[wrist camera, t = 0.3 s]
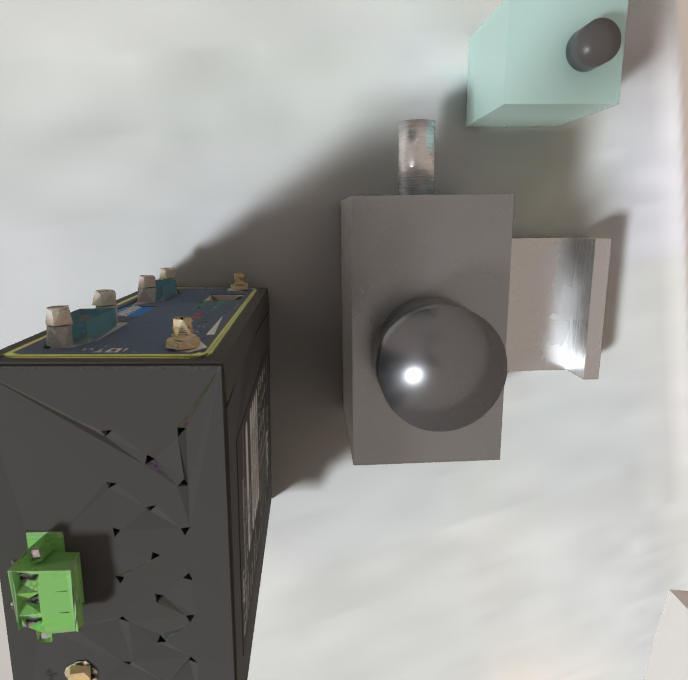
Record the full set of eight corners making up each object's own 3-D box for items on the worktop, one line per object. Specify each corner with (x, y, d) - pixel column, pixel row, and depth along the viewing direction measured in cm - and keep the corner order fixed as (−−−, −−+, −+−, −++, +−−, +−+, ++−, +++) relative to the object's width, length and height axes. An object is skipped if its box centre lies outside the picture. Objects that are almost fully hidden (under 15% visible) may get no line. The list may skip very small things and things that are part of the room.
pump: (468, 39, 33) (521, -20, 25) (564, 40, 33) (647, -18, 25) (465, 126, 34) (515, 97, 26) (558, 126, 35) (636, 97, 26)
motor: (339, 135, 34) (355, 91, 22) (596, 134, 35) (741, 91, 23) (343, 407, 38) (358, 492, 26) (573, 400, 39) (687, 479, 27)
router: (268, 265, 35) (218, 324, 16) (272, 516, 39) (236, 809, 20) (143, 264, 35) (-67, 323, 15) (160, 518, 39) (10, 821, 19)
